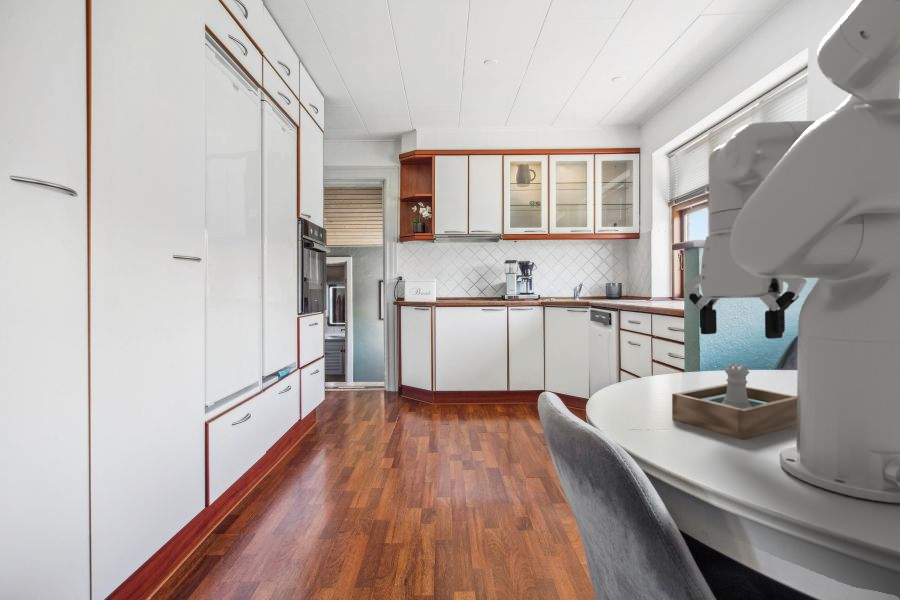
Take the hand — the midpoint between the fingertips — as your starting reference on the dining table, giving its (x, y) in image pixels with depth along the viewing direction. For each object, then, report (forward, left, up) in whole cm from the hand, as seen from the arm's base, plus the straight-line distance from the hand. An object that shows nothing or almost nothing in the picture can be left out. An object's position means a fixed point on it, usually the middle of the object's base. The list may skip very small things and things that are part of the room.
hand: (739, 335), depth 68 cm
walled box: (+1, 0, -14) cm, 13 cm away
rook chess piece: (+1, 0, -13) cm, 13 cm away
